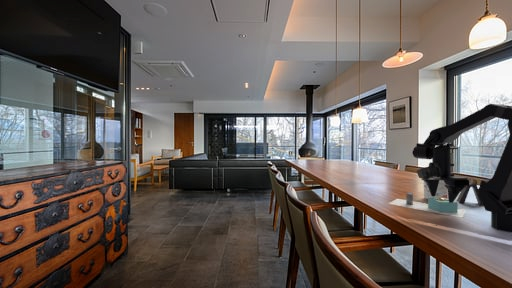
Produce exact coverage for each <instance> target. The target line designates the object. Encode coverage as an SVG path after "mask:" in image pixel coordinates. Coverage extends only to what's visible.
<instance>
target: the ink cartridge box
mask: <svg viewBox="0 0 512 288" xmlns="http://www.w3.org/2000/svg"><path fill="white" fill-rule="evenodd" d="M444 185H447V184H445V182H444V181H443V180H439V184H438V188H437V191H436V194H435V196H431V193H430V191H429V188H428V186H427V184H426V182H424V181H423V199H427V200H428V198H446V199H448V189H447V188H446V187H445V186H444Z"/></svg>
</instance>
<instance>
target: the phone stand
mask: <svg viewBox="0 0 512 288" xmlns="http://www.w3.org/2000/svg"><path fill="white" fill-rule="evenodd" d="M466 178H467V179H469V180H470V181H471V180H472V182H470V186H466V188H463V190H462V191H461V192H460V193H459V194H458V196H457V199H456V202H458V204H466V203H467V204H469V202H467V201H466V199H467V198H468V194H469V192H470V189H471V188H472V190H473V193H474V196H475V199H476V202H477V203H475V202H471V204H472V205H479V206H481V207H484V205H483V203H482V201H481V200H480V198H479V197H478V193H479V191H477V190H478V189H479V187H478V181H477V180H476V179H475V178H473V177H469V176H466Z"/></svg>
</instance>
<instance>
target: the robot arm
mask: <svg viewBox="0 0 512 288" xmlns="http://www.w3.org/2000/svg"><path fill="white" fill-rule="evenodd" d="M496 118H497V119H502V120H505V121H506V120H507V128H508V132H509V136H508V139H507V142H506V144H505V146H504V149H503V151H502V154H501V156H500V158H499V161H498V163H497V165H496V167H495V171H494V173H493V176H492V177H491V178H490V179H482V180H480V183H479V187H478V190H477V191H479V193H478V197H479V198H480V200H481V201H482V203H483V205H484V206H483V208H484V210H485V211H486V212H490V214H491V215H490V219H491V220H490V224H491V225H490V226H491V227H492V228H494V229H496V230H497V231H502V232H507V233H512V105H506V104H503V103H502V104H501V103H489V104H487V105H485V106H484V107H483V108H480V109H479V110H477V111H475V112H472V113H471V114H469V115H467V116H464V117H463V118H461V119H459V120H458V121H456V122H454V123H451V124H449V125H445V126H444V125H443V126H440V127H438V128H434V129H432V130H430V132H429V134H428V136H427V138H426V139H425V141H424V142H423V143H421V142H420V143H419V142H418V143H416V144H415V145H416V146H414V148H413V150H412V156H413V157H414V158H415V159H417V160H418V159H419V160H432V162H431V161H430V162H429V163H428V166H425V167H422V168H420V169H419V168H418V169H417V170H416V174H417V177H418V178H419V179H420V180H421V181H423V183H424V182H426V184H427V186H428V188H429V191H430V193H431V196H435V194H436V191H437V188H438V184H439V180H443V181H444V182H445V184H447V185H444V186H445V187H446V188H447V199H449V202H450V203H453V202H454V201H455V200H457V199H456V198H458V197H459V195H460V193H461V191H462V190H463V188H466V186H470V183H471V182H470V181H471V180H469V179H467V177H463V176H456V175H455V174H454V173H452V167H454V166H455V163H453V162H452V150H458V147H457V146H456V145H454V143H453V142H454V141H455V140H457V139H458V138H459V137H460V136H461V135H462V134H464V133H466V132H467V131H470V130H473V129H475V128H477V127H479V126H481V125H482V124H485V123H487V122H490V121H492V120H494V119H496Z"/></svg>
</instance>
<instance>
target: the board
mask: <svg viewBox="0 0 512 288" xmlns="http://www.w3.org/2000/svg"><path fill="white" fill-rule="evenodd" d="M405 197H406V198H405V199H401V198H396V199H394V200H392V201H391V202H388V205H393V206H398V207H403V208H409V209H415V210H420V211H425V212H430V213H436V214H440V215H441V214H442V215H446V216H452V217H457V218H463V217H464V216H465V214H466V212H467V209H462V208H458V213H453V212H438V211H436V210H433V209H431V208H429V207H428V203H425V202H420V201H419V202H418V201H414V194H413V193H410V192H407V193H405Z"/></svg>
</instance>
